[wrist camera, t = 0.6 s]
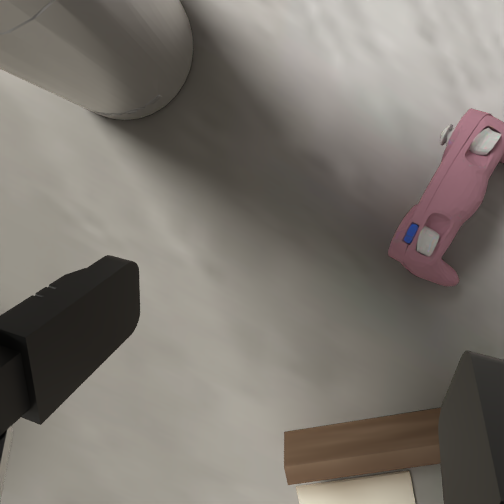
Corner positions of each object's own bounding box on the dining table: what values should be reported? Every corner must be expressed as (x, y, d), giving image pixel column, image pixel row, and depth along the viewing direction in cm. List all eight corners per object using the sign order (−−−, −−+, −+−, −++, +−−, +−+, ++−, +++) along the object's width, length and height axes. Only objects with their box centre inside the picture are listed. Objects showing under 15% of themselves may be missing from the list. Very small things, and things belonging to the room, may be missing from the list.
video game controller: (463, 130, 28) (458, 83, 22) (536, 155, 26) (553, 110, 20) (388, 261, 30) (365, 250, 23) (452, 294, 28) (445, 292, 21)
